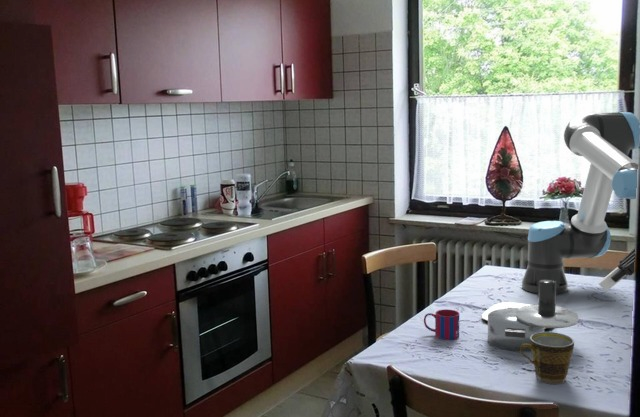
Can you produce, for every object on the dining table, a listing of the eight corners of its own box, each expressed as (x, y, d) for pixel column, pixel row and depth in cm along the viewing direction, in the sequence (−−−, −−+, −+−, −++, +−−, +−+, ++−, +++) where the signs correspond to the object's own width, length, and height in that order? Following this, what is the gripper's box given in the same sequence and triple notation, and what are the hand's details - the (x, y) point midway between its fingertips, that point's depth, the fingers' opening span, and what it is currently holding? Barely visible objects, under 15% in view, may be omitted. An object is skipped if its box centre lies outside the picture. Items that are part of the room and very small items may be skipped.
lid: (516, 307, 191) (517, 272, 190) (576, 310, 187) (577, 275, 185) (515, 325, 176) (516, 288, 175) (580, 330, 172) (581, 292, 170)
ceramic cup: (559, 368, 166) (561, 330, 164) (581, 385, 156) (582, 344, 155) (510, 373, 164) (511, 334, 163) (529, 390, 154) (530, 349, 153)
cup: (456, 341, 187) (456, 317, 185) (421, 337, 191) (421, 314, 189) (461, 333, 193) (461, 310, 191) (427, 329, 197) (427, 307, 195)
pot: (489, 327, 197) (490, 304, 196) (543, 331, 192) (543, 307, 191) (485, 352, 178) (485, 327, 177) (544, 357, 173) (545, 331, 172)
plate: (567, 314, 207) (567, 309, 207) (547, 336, 189) (547, 330, 189) (499, 304, 219) (499, 299, 219) (474, 323, 201) (474, 318, 201)
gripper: (660, 211, 175) (589, 270, 182) (670, 220, 162) (594, 283, 170) (681, 232, 174) (609, 290, 181) (693, 242, 162) (616, 304, 169)
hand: (602, 287), depth 176 cm, fingers closed
